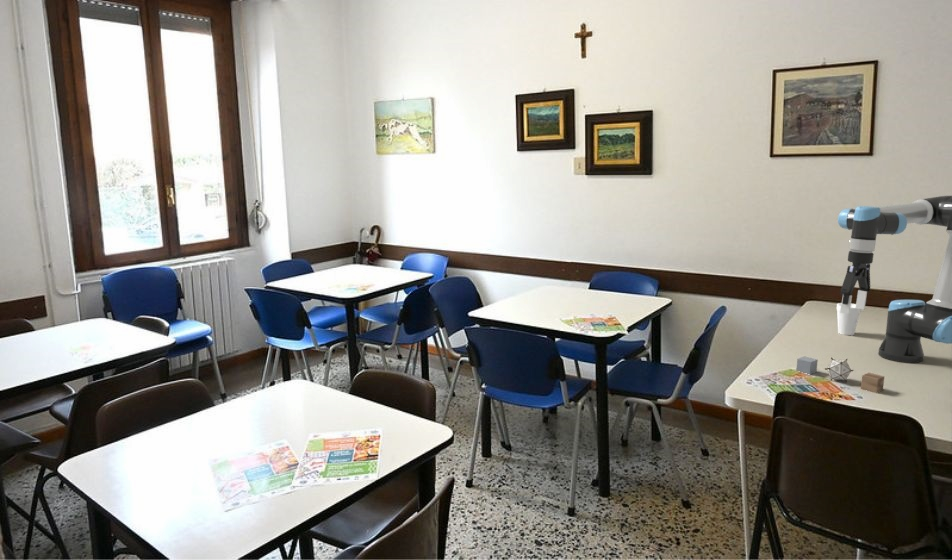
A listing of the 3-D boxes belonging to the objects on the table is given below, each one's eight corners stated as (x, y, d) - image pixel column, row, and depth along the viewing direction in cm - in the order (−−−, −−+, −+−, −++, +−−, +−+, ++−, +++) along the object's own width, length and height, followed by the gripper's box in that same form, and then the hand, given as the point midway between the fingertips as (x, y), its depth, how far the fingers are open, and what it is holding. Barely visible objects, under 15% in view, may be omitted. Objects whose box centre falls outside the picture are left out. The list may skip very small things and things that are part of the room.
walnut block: (867, 386, 231) (869, 372, 230) (882, 390, 227) (884, 376, 226) (860, 389, 228) (862, 375, 227) (876, 393, 224) (877, 379, 223)
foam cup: (862, 336, 289) (865, 307, 286) (841, 336, 289) (844, 308, 287) (850, 330, 298) (853, 302, 296) (830, 330, 298) (832, 302, 296)
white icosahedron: (839, 388, 238) (856, 366, 238) (844, 388, 230) (862, 365, 230) (816, 373, 241) (833, 351, 241) (820, 372, 233) (838, 350, 233)
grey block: (803, 368, 249) (804, 356, 248) (816, 372, 245) (817, 359, 244) (796, 371, 246) (797, 358, 245) (809, 375, 242) (810, 362, 241)
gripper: (863, 247, 238) (854, 305, 241) (835, 252, 221) (826, 313, 225) (886, 250, 232) (877, 309, 236) (859, 255, 216) (849, 317, 220)
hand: (852, 311), depth 231 cm, fingers open, 13 cm apart
